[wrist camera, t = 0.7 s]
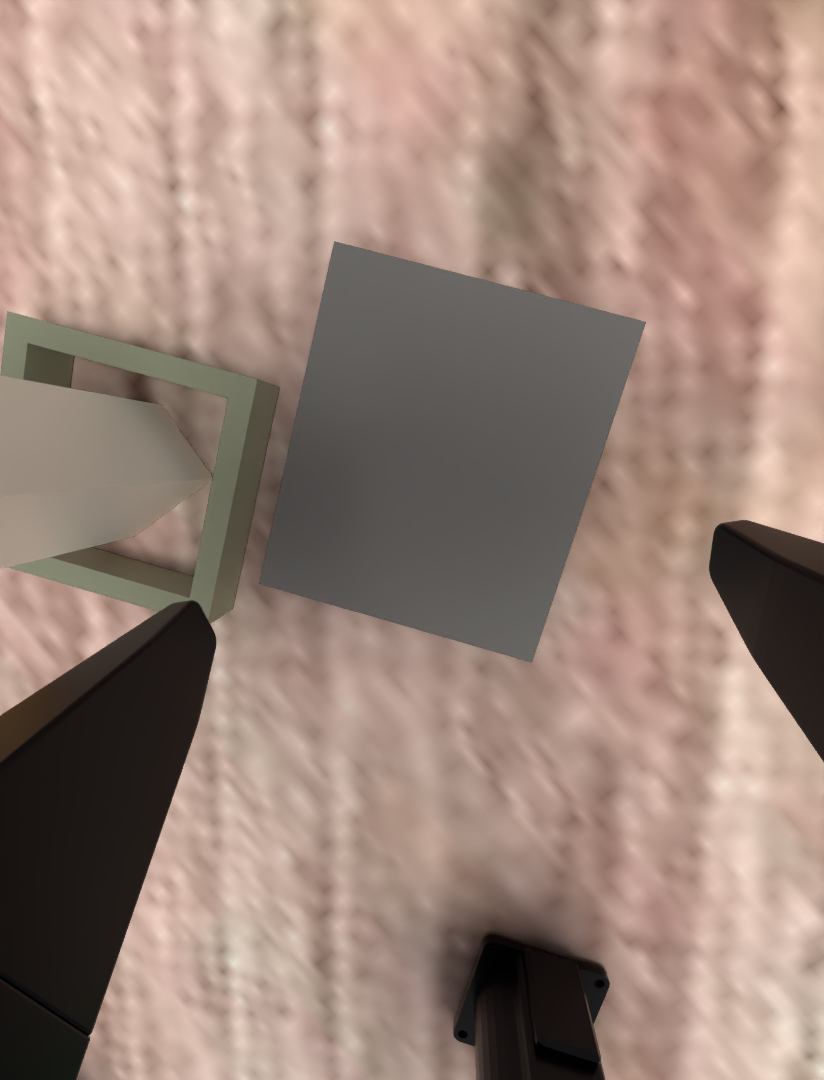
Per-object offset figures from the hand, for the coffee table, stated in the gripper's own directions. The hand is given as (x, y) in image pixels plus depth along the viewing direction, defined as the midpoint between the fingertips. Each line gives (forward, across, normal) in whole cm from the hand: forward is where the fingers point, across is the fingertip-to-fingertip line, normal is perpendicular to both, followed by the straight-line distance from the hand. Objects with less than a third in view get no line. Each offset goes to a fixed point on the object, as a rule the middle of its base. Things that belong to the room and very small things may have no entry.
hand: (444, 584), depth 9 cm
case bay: (+14, +14, +2) cm, 20 cm away
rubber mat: (+14, 0, +3) cm, 14 cm away
